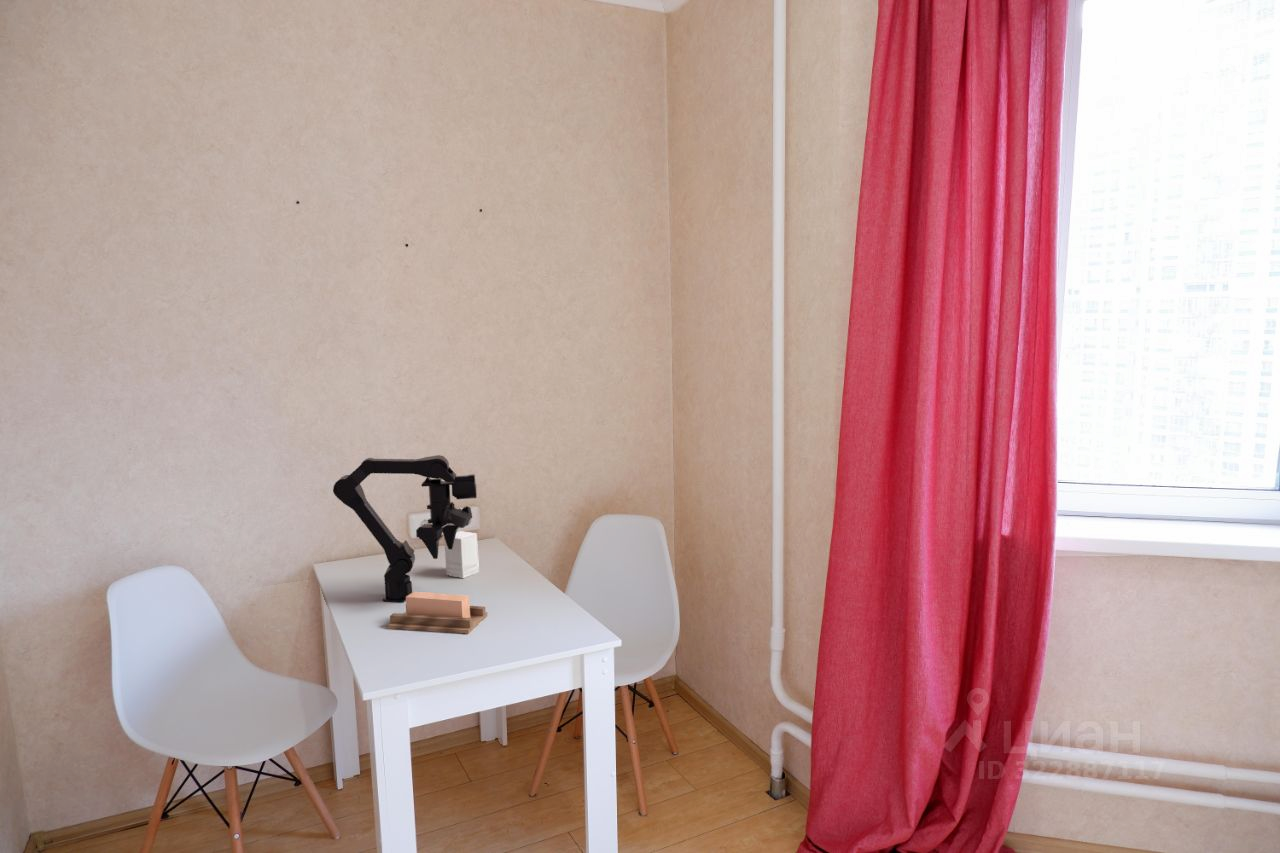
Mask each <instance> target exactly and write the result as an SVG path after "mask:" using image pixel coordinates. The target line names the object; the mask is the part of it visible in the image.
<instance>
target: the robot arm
mask: <svg viewBox="0 0 1280 853" xmlns="http://www.w3.org/2000/svg"><path fill="white" fill-rule="evenodd" d="M371 474H390V475H392V474H394V475H395V474H399V475H400V474H404V475H408V474H409V475H418V476H420V477H425V480H424V481H423V482H422V483H421V487H428V497H429V499H428V500H429V504H427V505H426V509H427V510H429V513H430V514H429V515H430V518H429V519H427V523H424V524H422V525H420V526H419V527H417V529H416V530H415V534H416V536H415V537H416V538H418V539H419V540H421V541H422V543H423V544H424V545H425V547H426V548H427V550H428V552H429V553H430V555H431V556H432V558H433V559H435V560H437V559H439V558H438V556H439V544H440V541H441V539H442V538H445V541H446V544H447V547H448V549H452V548H453V544H454V540H455V536H456V532H458V530H459V529H464V528H465V527H466V526H469V523H470V522H471V521H470V520H471V519H472V518H473V512H472V508H471V507H469V506H464V507H463V508H456V507H455V503H454V501H452V502H451V495H452V497H453V498H456V500H467V499H468V500H470V499H477V495H478V494H477V491H478V490H477V484H476V474H474V473H473V474H467V475H457V474H456V473H455V472H454V470H453V469H452V468H451V467H450V462H449V461H448V459H447V458H446V457H445V455H441V454H440V455H439V454H438V455H432V456H425V457H421V458H416V459H415V458H414V459H413V458H412V459H411V458H409V459H408V458H373V457H367V458H365V459H364V460H363V461H362V462H361V464H360V465H359V466H357V468H356V469H355V470H353V471H352V472H351V473H349V474H345V475H343V476H341V477H340V478H339V479H338V480H337V481H336V482H334V485H333V487H332V492H333V494H334V496H335V497H336V498H337V499H338V500H339V501H340V502H342V503H343V504H344V505H345V506H346V507H349V508H350V509H352V510H353V511H354V512H355V514H356V515H357V516H358V518H359V519H360V520H361V522H363V525H365V527H366V528H367V529H368V531H369V532H370V533H371V535H372V536H373V537H374V539H375V540H376V541H377V543H378V544H379V545H380V546H381V547H382V549H383V552H384V553H385V556H386V559H387V562H388V563H389V565H388V566H387V568H386V571H385V572H384V575H383V578H384V579H383V580H384V592H385V594H384V595H385V597H383V598H382V601H383V602H393V603H394V602H395V603H396V602H397V603H404V602H406V596H408V595H410V594H411V593H413V584H412V583H413V582H412V580H411V576H410V575H408V574H409V573H410V572H411V571H412V569H413V567H414V564H415V562H416V561H415V560H416V555H415V549H413V548H412V547H411V546H410V544H409V542H408V541H407V540H406V539H405V540H404V541H403V542H401V541H400V540H398V539H397V538H396V537H395V536H394V534H393V532H391V530H390V529H389V527H388V526H387V525H386V524H385V522H384V521H383V520H382V518H381V517H380V515H379V514H378V513H377V512H376V511H375V509H374V508H373V506H372V505H371V504H370V502H369V501H368V499H367V498H366V495H365V491H364V489H363V487H362V485H361V483H362V482H364V480H365V479H366V478H367V477H369V476H370V475H371ZM442 534H443V535H442ZM445 541H444V542H445Z"/></svg>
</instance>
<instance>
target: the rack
mask: <svg viewBox="0 0 1280 853" xmlns="http://www.w3.org/2000/svg"><path fill="white" fill-rule="evenodd" d="M488 613H489V612H488V611H487V612H486V606H482V605H481V606H480V605H477V606H476V605H470V618H462V617H445V616H428V615H412V614H407V608H406V607H405V612H404V613H396V612H395V613H391V614H390V615H389V621H390V623H389V624H387V629H388V630H401V629H406V631H416V630H417V631H419V632H431V631H432V632H434V633H447V634H448V632H449V634H462V633H465V635H468V634H470V633H471V632H472V631H473V630H474V629H476V628H477V627H478V626H479V623H480V622H481V621H482V622H483V621H484V620H485V619H486V618H487V617H488V615H489V614H488ZM482 622H481V623H482ZM481 623H480V624H481ZM432 632H431V633H432Z"/></svg>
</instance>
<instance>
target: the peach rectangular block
mask: <svg viewBox="0 0 1280 853" xmlns="http://www.w3.org/2000/svg"><path fill="white" fill-rule="evenodd" d="M470 606H471V603H470V595H465V594H464V595H463V594H450V593H449V594H448V593H437V592H425V591H423V592H421V591H412V593H411V594H410V595H408V596H406V600H405V609H406V608H407V614H412V615H428V616H445V617H462V618H470Z"/></svg>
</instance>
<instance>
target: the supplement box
mask: <svg viewBox="0 0 1280 853" xmlns="http://www.w3.org/2000/svg"><path fill="white" fill-rule="evenodd" d="M443 538H444V537H443ZM443 541H444V552H445V553H444V554H445V568H446V569H445V570H446V576H448V575H449V577H454V578H458V577H459V578H458V579H465V578H469V577H470V576H473V575H475V574H479V573H480V567H479V566H480V565H479V563H480V560H479V548H478V547H479V546H478V544H479V543H478V533H476V532H471V531H470V532H469V531H463V530H459V531H457V532H456V536H455V540H454V544H453V548H452V549H448V547H447V544H446V541H445V538H444V540H443Z"/></svg>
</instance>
